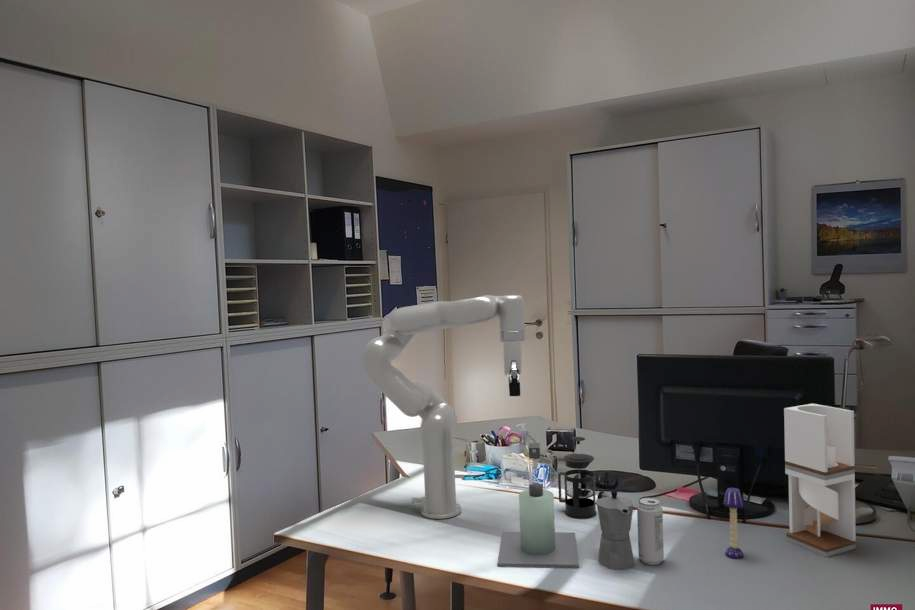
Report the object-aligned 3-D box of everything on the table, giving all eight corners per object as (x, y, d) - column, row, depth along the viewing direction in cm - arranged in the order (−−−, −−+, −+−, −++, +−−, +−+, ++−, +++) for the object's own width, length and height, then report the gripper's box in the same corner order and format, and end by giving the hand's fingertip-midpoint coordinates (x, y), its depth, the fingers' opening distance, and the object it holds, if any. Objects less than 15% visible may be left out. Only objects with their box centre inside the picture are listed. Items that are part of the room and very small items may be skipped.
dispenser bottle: (497, 566, 163) (494, 498, 162) (502, 534, 182) (500, 473, 182) (578, 568, 160) (576, 498, 159) (574, 535, 180) (572, 473, 179)
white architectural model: (786, 540, 171) (784, 408, 169) (815, 532, 175) (812, 403, 173) (826, 557, 160) (824, 416, 159) (855, 548, 165) (853, 411, 163)
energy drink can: (644, 553, 167) (642, 495, 166) (667, 559, 163) (666, 499, 162) (634, 561, 162) (632, 502, 161) (658, 567, 158) (656, 507, 158)
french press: (602, 509, 198) (599, 435, 197) (594, 521, 190) (592, 442, 189) (564, 505, 203) (561, 432, 202) (555, 516, 195) (552, 439, 194)
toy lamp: (721, 551, 166) (720, 486, 165) (740, 550, 166) (738, 485, 165) (729, 559, 161) (727, 492, 161) (748, 558, 161) (746, 492, 161)
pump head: (529, 475, 165) (528, 451, 164) (529, 465, 173) (529, 443, 172) (540, 475, 164) (539, 451, 164) (540, 465, 172) (539, 443, 172)
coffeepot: (646, 570, 157) (644, 496, 156) (610, 576, 155) (608, 501, 154) (617, 545, 172) (615, 478, 171) (584, 550, 170) (581, 482, 169)
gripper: (499, 334, 204) (502, 388, 205) (499, 339, 187) (502, 398, 188) (523, 333, 204) (526, 387, 205) (526, 338, 187) (528, 398, 187)
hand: (514, 392), depth 196 cm, fingers open, 9 cm apart
